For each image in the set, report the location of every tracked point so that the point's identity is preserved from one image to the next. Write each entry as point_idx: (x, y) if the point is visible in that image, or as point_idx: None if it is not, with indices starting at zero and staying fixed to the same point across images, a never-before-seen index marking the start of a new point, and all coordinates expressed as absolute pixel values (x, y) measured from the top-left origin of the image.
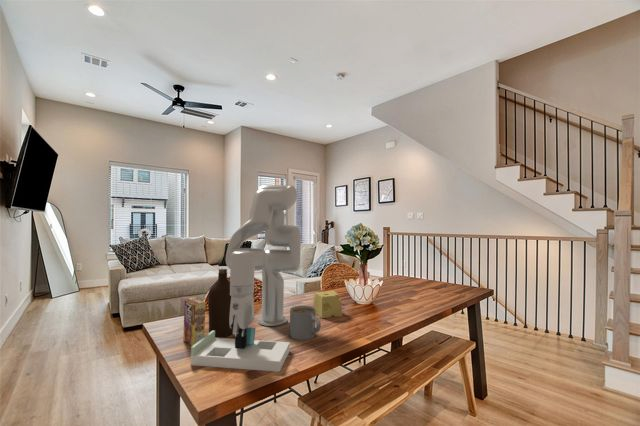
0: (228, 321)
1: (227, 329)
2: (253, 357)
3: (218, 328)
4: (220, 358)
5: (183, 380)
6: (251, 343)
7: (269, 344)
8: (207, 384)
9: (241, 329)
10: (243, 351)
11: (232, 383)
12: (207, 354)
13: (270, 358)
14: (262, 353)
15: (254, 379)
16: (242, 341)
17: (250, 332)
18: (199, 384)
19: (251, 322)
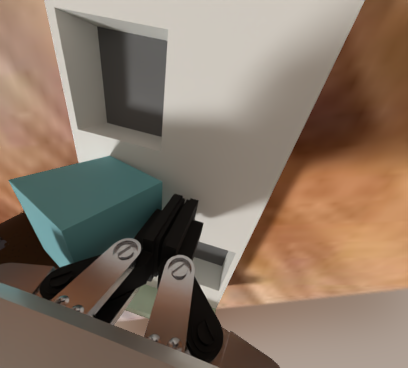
0: (3, 259)
1: (36, 240)
2: (267, 145)
3: (48, 264)
4: (239, 258)
5: (292, 296)
6: (137, 171)
7: (79, 70)
8: (340, 259)
9: (184, 341)
10: (192, 194)
11: (373, 199)
12: (207, 284)
13: (315, 14)
14: (221, 95)
15: (385, 115)
16: (185, 232)
17: (103, 214)
18: (330, 273)
19: (20, 311)
